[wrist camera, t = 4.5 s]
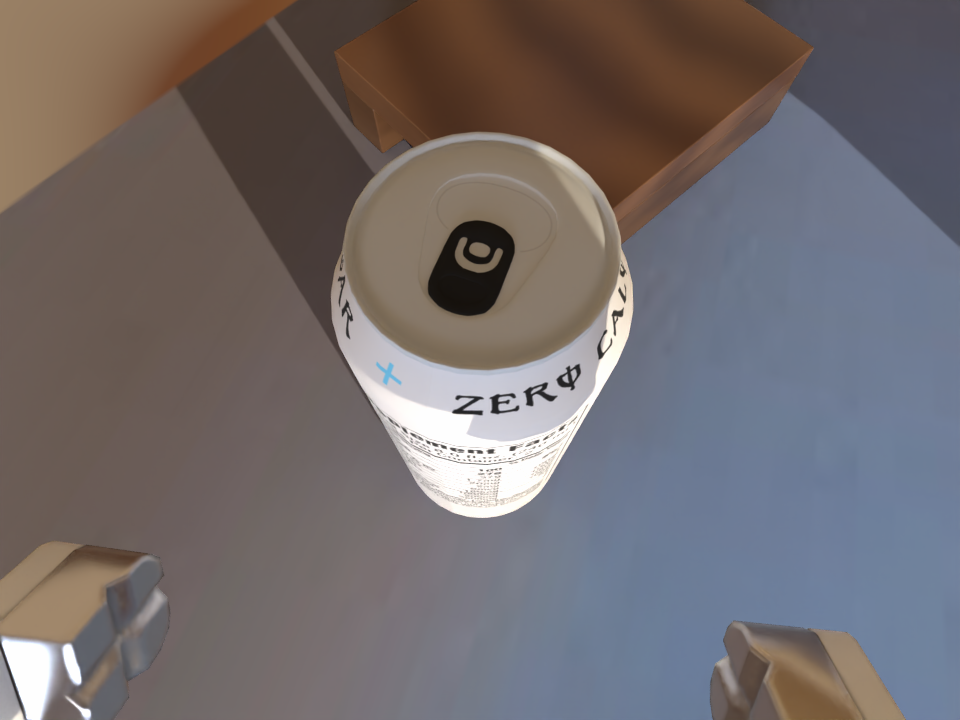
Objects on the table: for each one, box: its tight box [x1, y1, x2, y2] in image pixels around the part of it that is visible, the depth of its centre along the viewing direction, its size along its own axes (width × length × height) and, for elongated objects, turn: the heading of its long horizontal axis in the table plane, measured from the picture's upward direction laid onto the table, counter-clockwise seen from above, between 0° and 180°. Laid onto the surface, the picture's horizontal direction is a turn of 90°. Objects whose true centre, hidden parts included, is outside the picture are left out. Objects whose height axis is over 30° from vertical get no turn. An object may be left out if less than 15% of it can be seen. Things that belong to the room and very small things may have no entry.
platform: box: [334, 0, 814, 244], centre depth 28 cm, size 16×14×4 cm
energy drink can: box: [331, 132, 633, 518], centre depth 17 cm, size 6×6×15 cm
